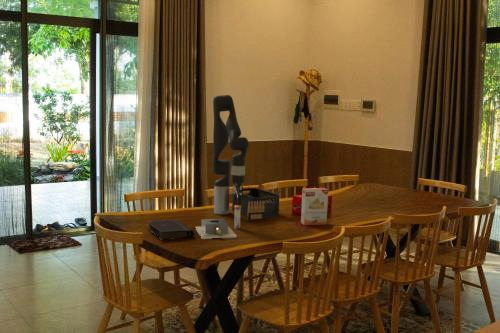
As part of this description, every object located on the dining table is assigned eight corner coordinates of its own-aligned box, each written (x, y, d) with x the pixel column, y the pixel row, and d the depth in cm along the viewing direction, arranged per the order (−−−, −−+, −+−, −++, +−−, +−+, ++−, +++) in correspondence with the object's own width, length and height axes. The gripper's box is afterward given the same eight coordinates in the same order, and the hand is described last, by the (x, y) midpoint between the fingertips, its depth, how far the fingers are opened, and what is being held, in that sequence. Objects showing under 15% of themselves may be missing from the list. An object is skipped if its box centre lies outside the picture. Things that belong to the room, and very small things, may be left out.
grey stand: (195, 228, 309) (195, 218, 308) (227, 227, 313) (227, 217, 312) (202, 239, 288) (202, 228, 287) (236, 237, 292) (236, 227, 291)
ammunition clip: (247, 221, 329) (248, 201, 327) (246, 220, 331) (247, 200, 329) (264, 220, 333) (265, 200, 331) (263, 219, 334) (264, 199, 333)
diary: (178, 227, 313) (178, 218, 313) (194, 238, 291) (194, 229, 291) (145, 230, 305) (145, 220, 305) (159, 241, 283) (159, 231, 282)
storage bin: (281, 216, 346) (281, 194, 344) (255, 219, 335) (255, 197, 333) (254, 207, 369) (255, 187, 367) (229, 210, 358) (230, 189, 357)
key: (232, 227, 314) (233, 205, 312) (239, 227, 315) (240, 205, 313) (234, 229, 310) (234, 206, 308) (241, 228, 311) (242, 206, 309)
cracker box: (304, 226, 321) (305, 189, 318) (300, 223, 327) (301, 188, 324) (327, 225, 325) (328, 189, 322) (323, 222, 331) (324, 187, 328)
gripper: (228, 172, 314) (228, 200, 316) (234, 175, 301) (233, 205, 303) (241, 171, 316) (241, 200, 318) (248, 175, 302) (247, 205, 304)
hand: (237, 202), depth 310 cm, fingers open, 8 cm apart
